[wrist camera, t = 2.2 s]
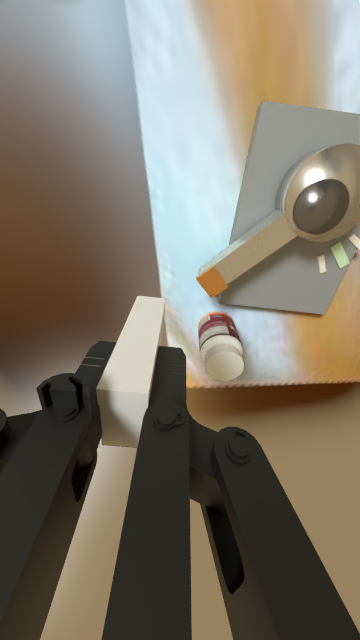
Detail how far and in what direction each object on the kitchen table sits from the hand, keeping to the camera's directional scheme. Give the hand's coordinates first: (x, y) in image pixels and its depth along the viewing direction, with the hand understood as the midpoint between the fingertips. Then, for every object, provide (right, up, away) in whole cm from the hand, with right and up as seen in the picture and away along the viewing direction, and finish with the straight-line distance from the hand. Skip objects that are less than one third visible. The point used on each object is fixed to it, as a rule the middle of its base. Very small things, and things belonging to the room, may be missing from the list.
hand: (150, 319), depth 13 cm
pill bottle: (+6, -1, +18) cm, 19 cm away
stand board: (+14, +10, +11) cm, 20 cm away
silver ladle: (+10, +9, +10) cm, 17 cm away
